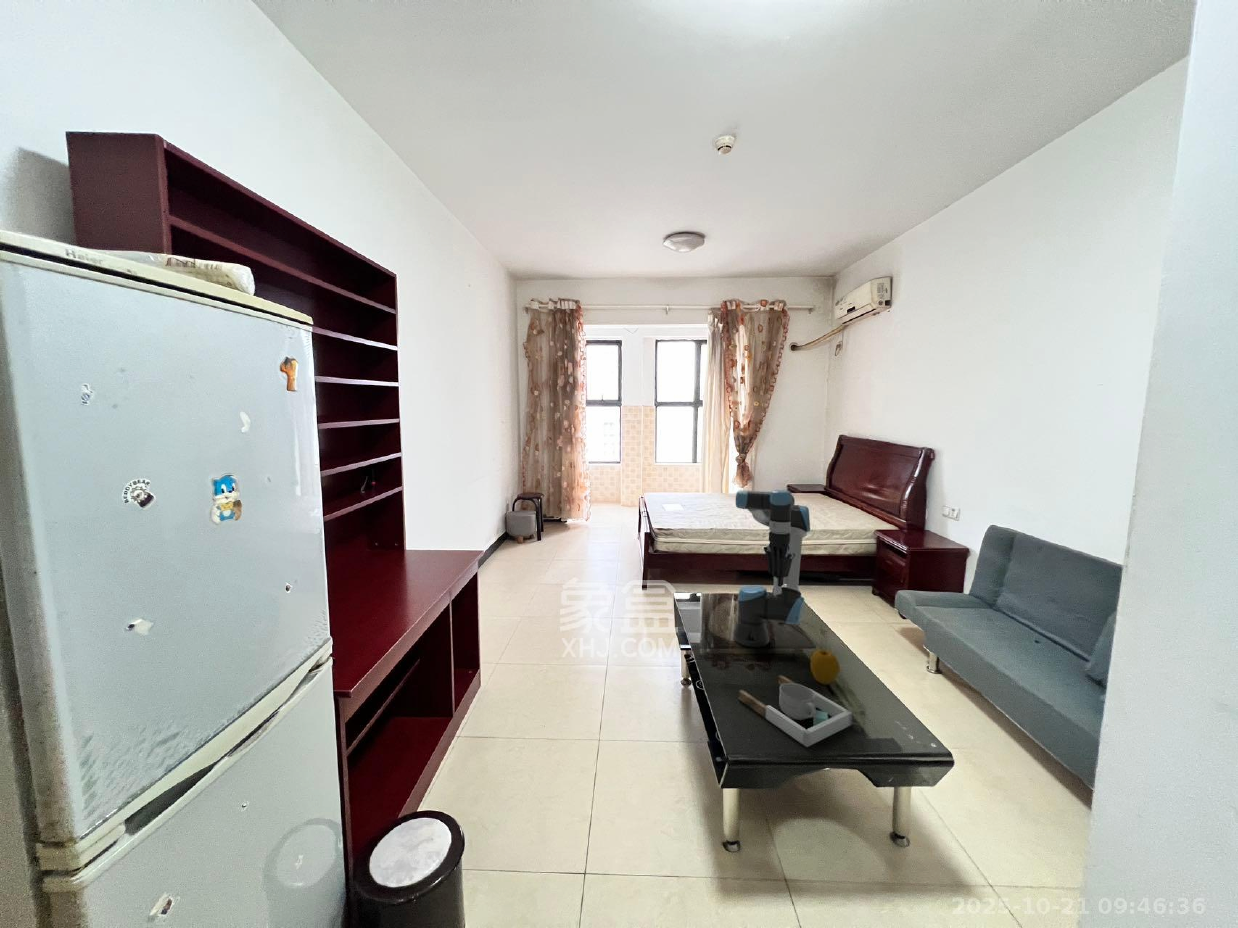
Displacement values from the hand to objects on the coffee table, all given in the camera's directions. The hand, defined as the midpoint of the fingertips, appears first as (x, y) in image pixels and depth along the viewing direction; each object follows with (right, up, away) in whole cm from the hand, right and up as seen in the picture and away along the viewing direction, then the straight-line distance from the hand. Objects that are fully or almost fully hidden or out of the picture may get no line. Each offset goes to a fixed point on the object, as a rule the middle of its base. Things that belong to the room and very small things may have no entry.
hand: (777, 593), depth 175 cm
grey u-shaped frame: (0, -33, -28) cm, 43 cm away
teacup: (-2, -33, -26) cm, 42 cm away
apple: (+15, -31, -5) cm, 35 cm away
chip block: (+3, -33, -31) cm, 45 cm away
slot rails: (-7, -32, -16) cm, 36 cm away
